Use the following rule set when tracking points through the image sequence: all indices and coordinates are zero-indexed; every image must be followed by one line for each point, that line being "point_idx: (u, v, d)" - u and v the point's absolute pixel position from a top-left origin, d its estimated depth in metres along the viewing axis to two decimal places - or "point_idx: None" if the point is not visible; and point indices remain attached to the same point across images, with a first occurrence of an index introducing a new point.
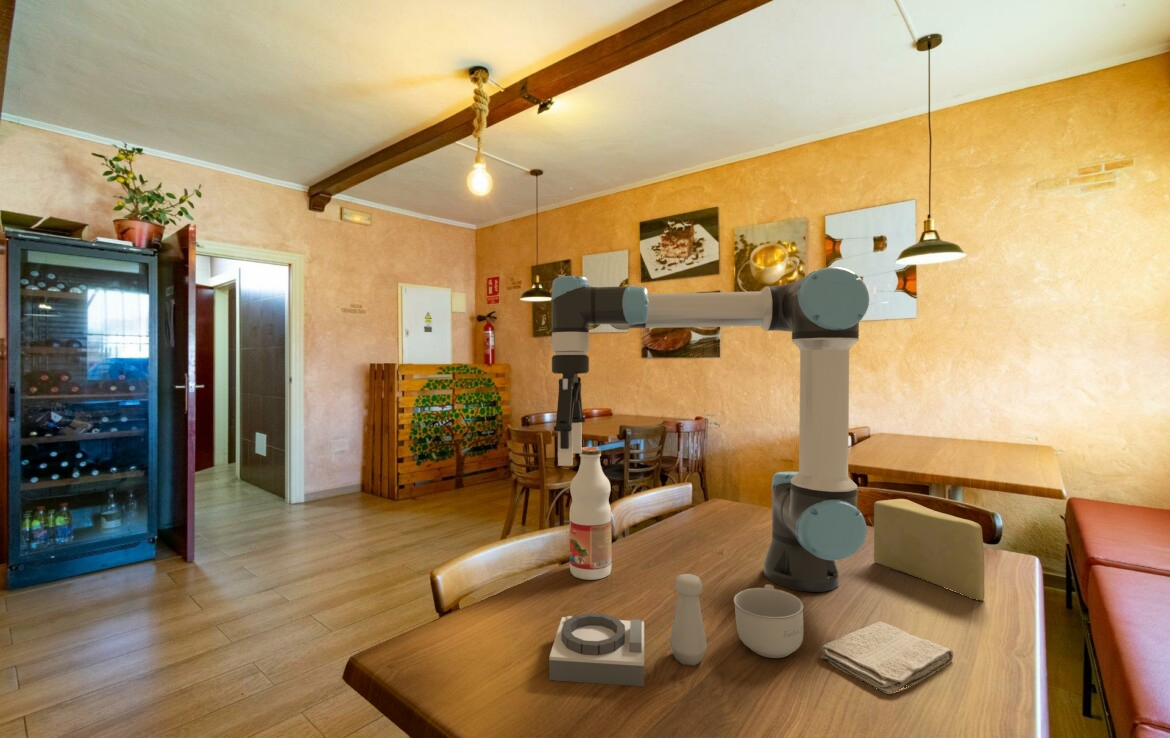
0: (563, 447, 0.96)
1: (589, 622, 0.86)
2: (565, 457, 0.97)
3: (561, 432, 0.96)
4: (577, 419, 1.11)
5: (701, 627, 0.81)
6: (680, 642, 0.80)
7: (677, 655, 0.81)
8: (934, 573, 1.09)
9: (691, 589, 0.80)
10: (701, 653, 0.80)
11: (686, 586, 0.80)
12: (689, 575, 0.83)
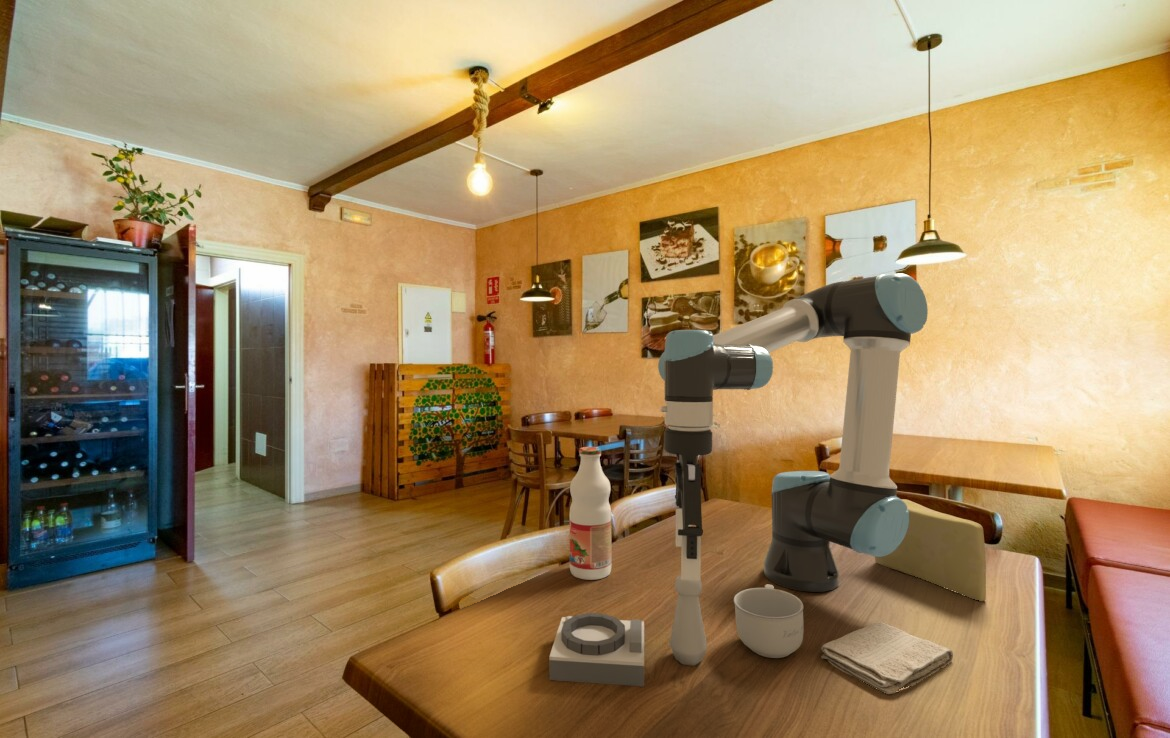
0: (690, 557, 0.74)
1: (589, 622, 0.86)
2: (691, 568, 0.75)
3: (688, 537, 0.74)
4: None
5: (701, 627, 0.81)
6: (680, 642, 0.80)
7: (677, 655, 0.81)
8: (935, 574, 1.08)
9: (690, 589, 0.80)
10: (701, 653, 0.80)
11: (686, 586, 0.80)
12: None
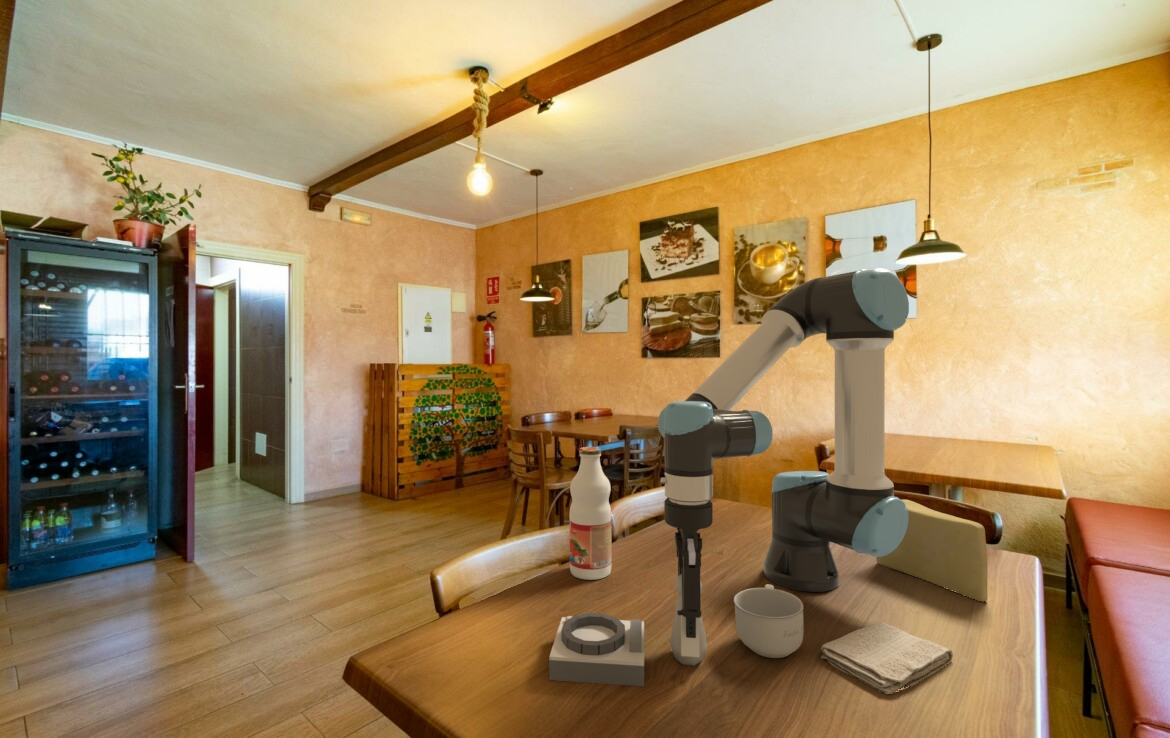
0: (690, 636, 0.77)
1: (589, 622, 0.86)
2: (690, 646, 0.79)
3: (687, 618, 0.77)
4: None
5: (701, 627, 0.81)
6: (680, 642, 0.80)
7: (677, 655, 0.81)
8: (937, 574, 1.08)
9: None
10: (701, 653, 0.80)
11: None
12: None
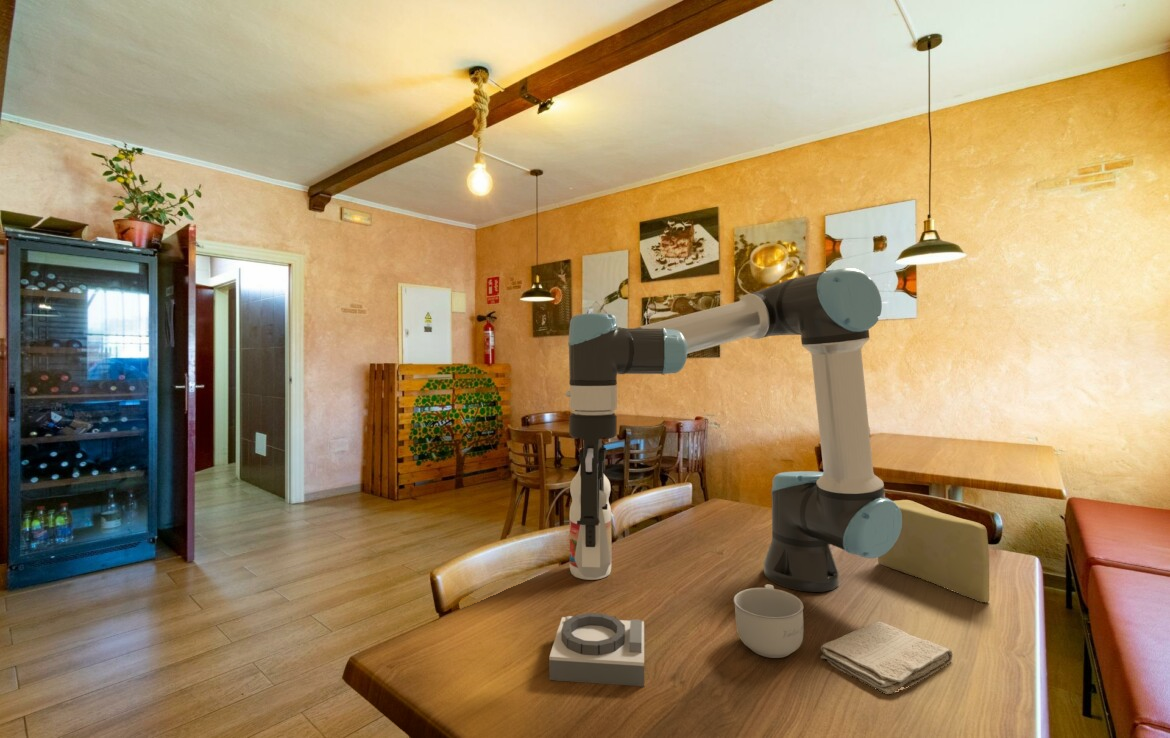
0: (589, 545, 0.77)
1: (589, 622, 0.86)
2: (591, 556, 0.78)
3: (586, 527, 0.77)
4: None
5: (604, 539, 0.80)
6: None
7: (580, 568, 0.80)
8: (939, 575, 1.08)
9: None
10: (603, 565, 0.79)
11: None
12: None
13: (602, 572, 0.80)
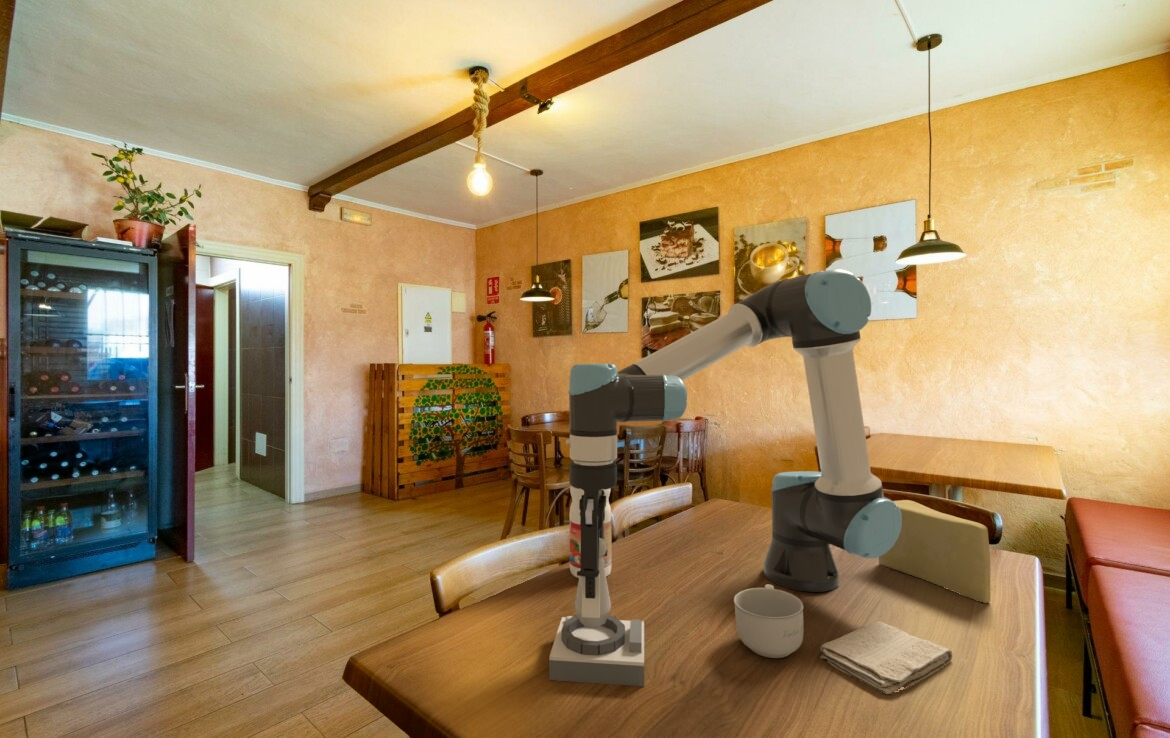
0: (589, 596, 0.77)
1: None
2: (591, 607, 0.78)
3: (586, 578, 0.77)
4: None
5: (604, 588, 0.80)
6: None
7: (580, 617, 0.80)
8: (940, 575, 1.08)
9: None
10: (603, 614, 0.79)
11: None
12: None
13: (602, 621, 0.80)
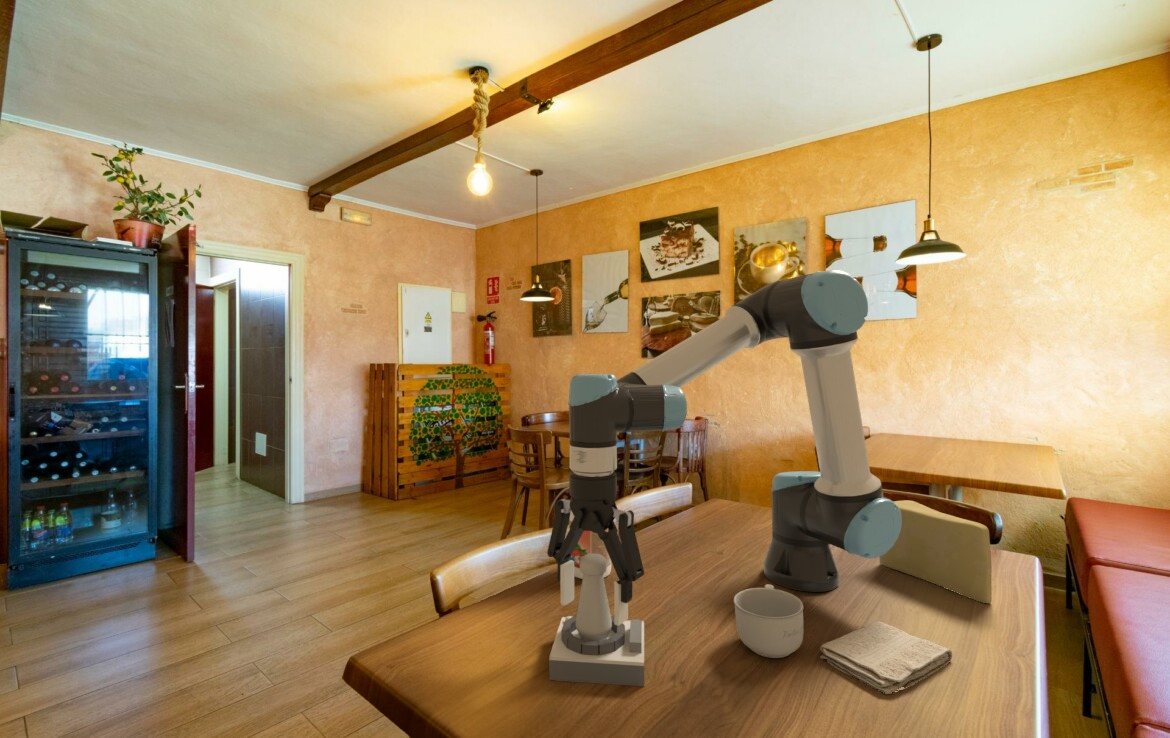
0: (628, 600, 0.78)
1: None
2: (623, 611, 0.78)
3: (628, 582, 0.77)
4: (567, 557, 0.85)
5: (606, 599, 0.82)
6: (600, 622, 0.79)
7: (595, 638, 0.79)
8: (941, 576, 1.07)
9: (605, 566, 0.80)
10: None
11: (601, 565, 0.80)
12: (590, 555, 0.82)
13: None
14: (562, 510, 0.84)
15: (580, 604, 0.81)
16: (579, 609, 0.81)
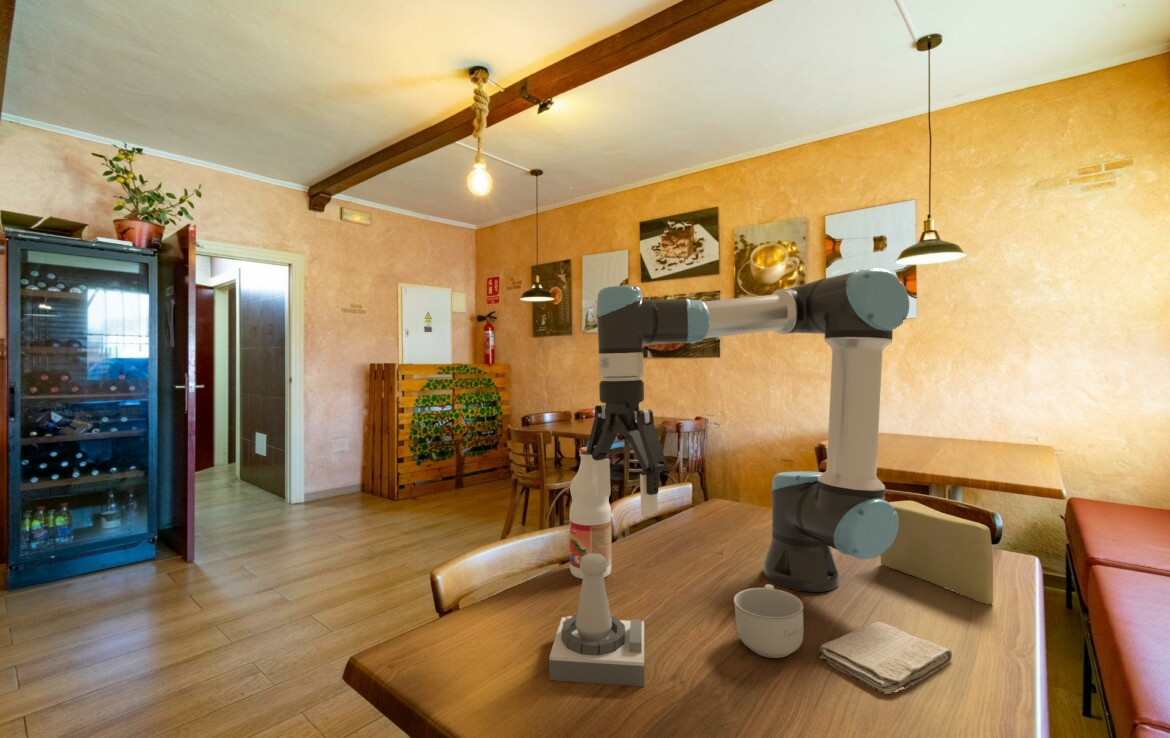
0: (653, 493, 0.80)
1: None
2: (650, 504, 0.81)
3: (652, 475, 0.80)
4: (603, 455, 0.94)
5: (606, 599, 0.83)
6: (600, 622, 0.79)
7: (595, 637, 0.79)
8: (942, 576, 1.07)
9: (604, 565, 0.81)
10: None
11: (601, 564, 0.80)
12: (590, 554, 0.82)
13: None
14: (599, 414, 0.91)
15: (580, 604, 0.81)
16: (579, 609, 0.81)
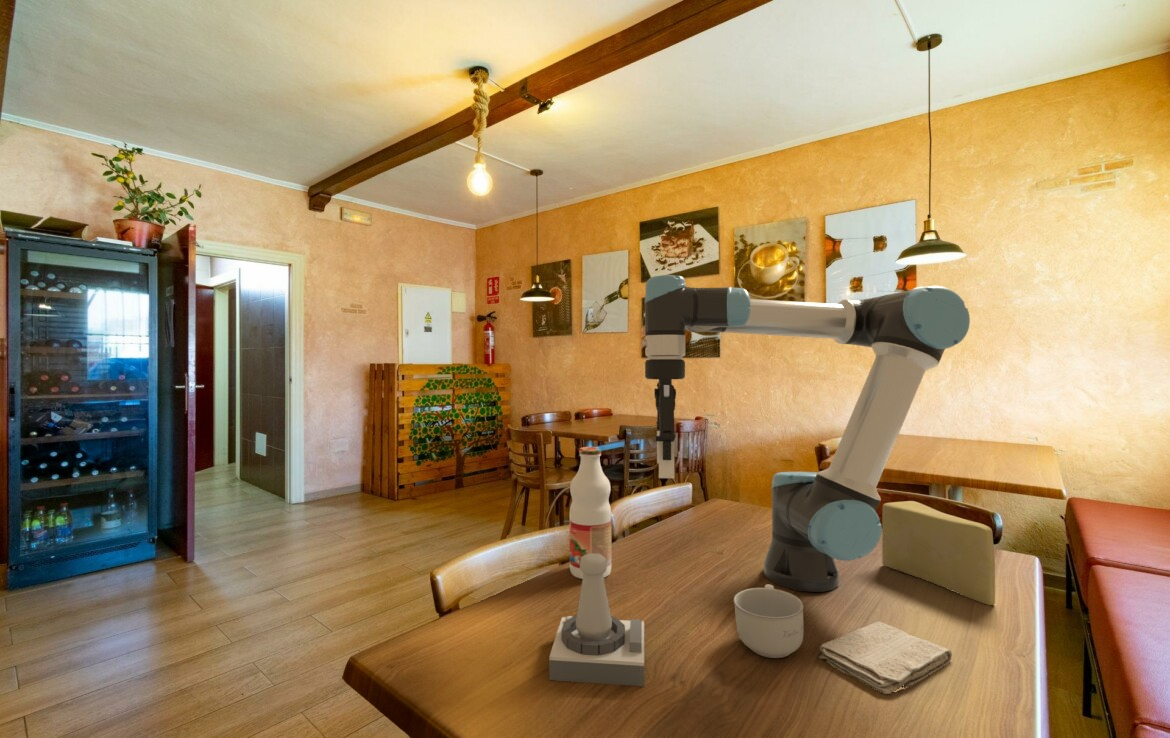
0: (666, 458, 0.90)
1: None
2: (667, 469, 0.91)
3: (664, 442, 0.90)
4: None
5: (606, 599, 0.83)
6: (600, 622, 0.79)
7: (595, 637, 0.79)
8: (944, 577, 1.07)
9: (605, 565, 0.81)
10: None
11: (601, 564, 0.80)
12: (590, 554, 0.82)
13: None
14: None
15: (580, 604, 0.81)
16: (579, 609, 0.81)
